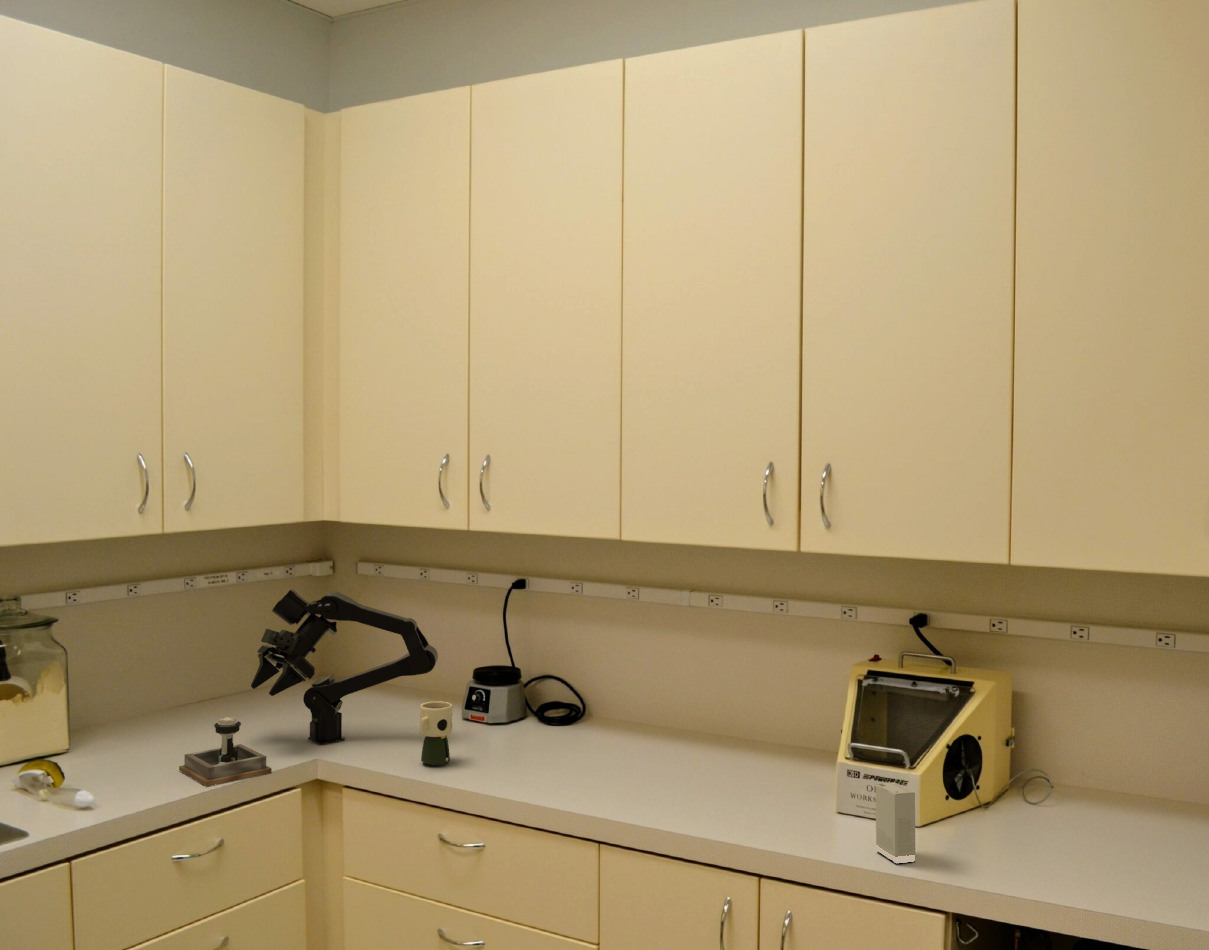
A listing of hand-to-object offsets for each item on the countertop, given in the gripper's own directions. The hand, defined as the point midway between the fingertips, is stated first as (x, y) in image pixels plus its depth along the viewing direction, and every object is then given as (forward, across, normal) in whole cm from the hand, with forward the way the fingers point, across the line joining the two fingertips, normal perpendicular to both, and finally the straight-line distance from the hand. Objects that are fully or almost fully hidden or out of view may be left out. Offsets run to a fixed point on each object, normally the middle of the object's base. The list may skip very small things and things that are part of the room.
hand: (261, 691), depth 234 cm
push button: (+18, +10, 0) cm, 20 cm away
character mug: (-8, +34, +27) cm, 44 cm away
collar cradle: (+18, +10, +1) cm, 21 cm away
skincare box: (-28, +130, +48) cm, 141 cm away
